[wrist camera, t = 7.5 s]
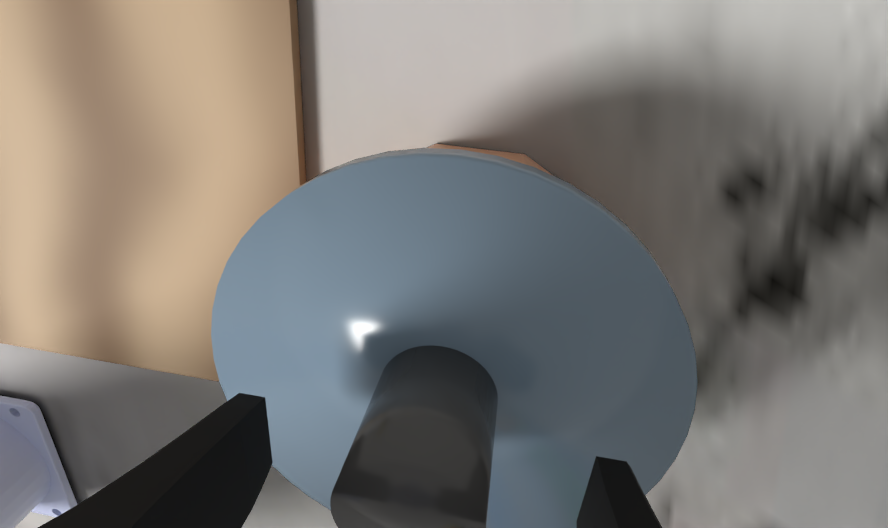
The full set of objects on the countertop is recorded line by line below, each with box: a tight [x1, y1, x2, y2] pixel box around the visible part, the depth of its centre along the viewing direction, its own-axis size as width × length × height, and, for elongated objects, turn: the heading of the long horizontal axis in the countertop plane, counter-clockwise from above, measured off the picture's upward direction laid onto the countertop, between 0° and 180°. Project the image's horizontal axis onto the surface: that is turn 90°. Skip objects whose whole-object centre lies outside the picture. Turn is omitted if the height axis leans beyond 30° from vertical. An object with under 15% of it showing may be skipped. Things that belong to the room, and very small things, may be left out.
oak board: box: [0, 0, 306, 381], centre depth 18 cm, size 15×15×1 cm
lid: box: [211, 148, 698, 528], centre depth 11 cm, size 12×12×4 cm
